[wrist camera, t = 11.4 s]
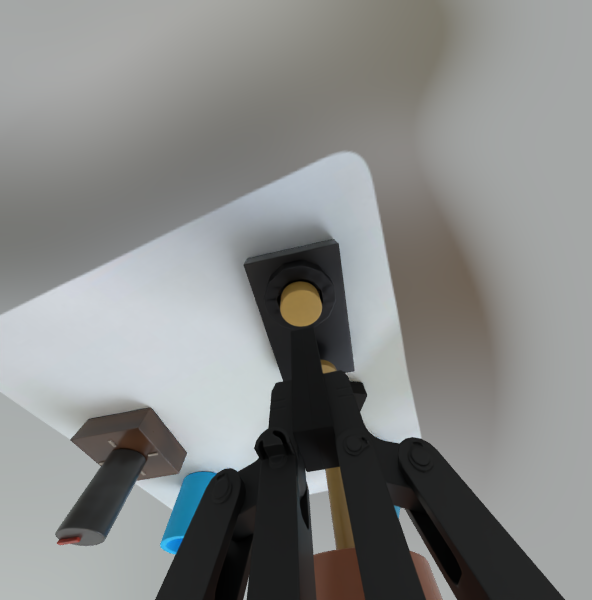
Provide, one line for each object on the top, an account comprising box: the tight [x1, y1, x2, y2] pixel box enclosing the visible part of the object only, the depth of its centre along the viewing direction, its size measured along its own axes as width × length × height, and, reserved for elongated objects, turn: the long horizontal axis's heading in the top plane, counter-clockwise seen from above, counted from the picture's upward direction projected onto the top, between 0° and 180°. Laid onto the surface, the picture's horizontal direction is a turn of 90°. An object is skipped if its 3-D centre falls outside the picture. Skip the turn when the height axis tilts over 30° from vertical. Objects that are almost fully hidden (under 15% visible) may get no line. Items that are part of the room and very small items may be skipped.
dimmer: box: [55, 449, 146, 546], centre depth 27 cm, size 5×5×8 cm
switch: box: [280, 281, 322, 326], centre depth 19 cm, size 4×4×2 cm
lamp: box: [313, 360, 443, 600], centre depth 15 cm, size 8×8×20 cm
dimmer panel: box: [71, 408, 187, 480], centre depth 32 cm, size 12×10×3 cm
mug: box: [160, 472, 216, 555], centre depth 37 cm, size 12×8×8 cm
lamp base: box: [244, 239, 354, 382], centre depth 23 cm, size 16×9×4 cm, turn 12°
